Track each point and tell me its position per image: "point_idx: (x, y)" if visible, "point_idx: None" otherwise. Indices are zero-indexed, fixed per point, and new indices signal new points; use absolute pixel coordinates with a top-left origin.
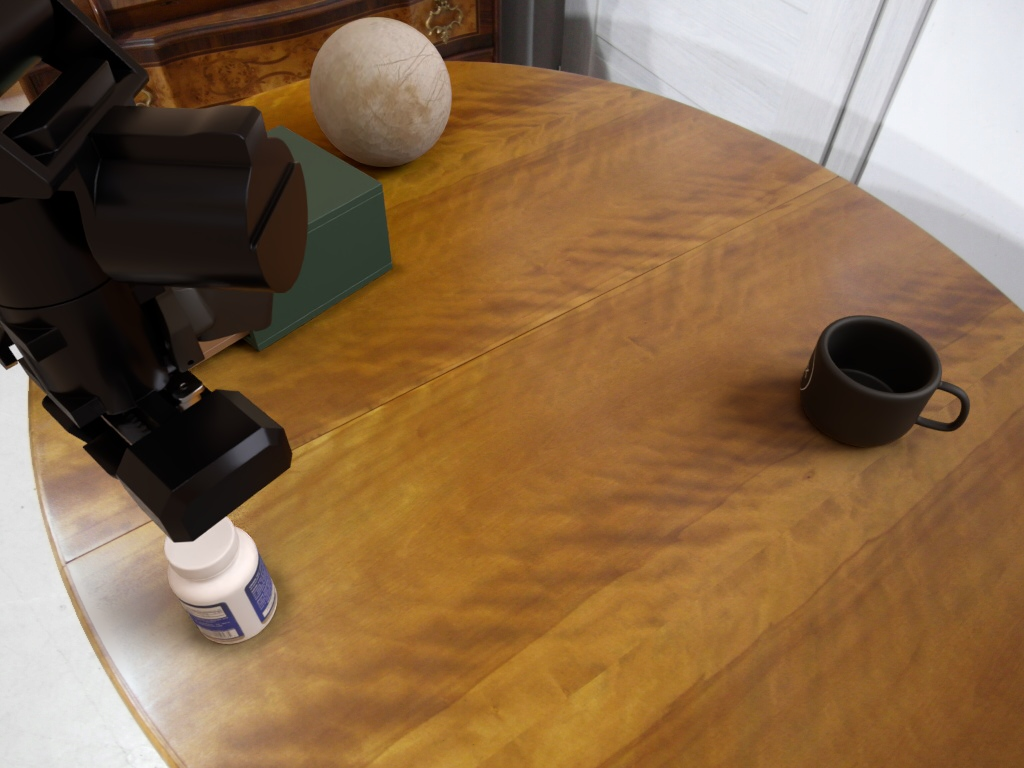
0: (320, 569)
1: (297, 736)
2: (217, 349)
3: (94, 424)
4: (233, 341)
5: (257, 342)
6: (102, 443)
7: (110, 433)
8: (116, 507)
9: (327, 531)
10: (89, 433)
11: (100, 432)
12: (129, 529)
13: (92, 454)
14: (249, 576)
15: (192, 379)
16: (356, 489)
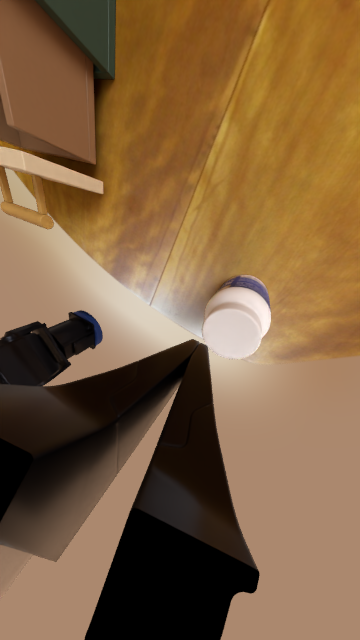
0: (285, 251)
1: (318, 349)
2: (91, 113)
3: (73, 526)
4: (92, 90)
5: (105, 67)
6: (116, 636)
7: (106, 629)
8: (144, 271)
9: (275, 219)
10: (85, 515)
11: (94, 499)
12: (158, 279)
13: (124, 637)
14: (270, 321)
15: None
16: (284, 160)
